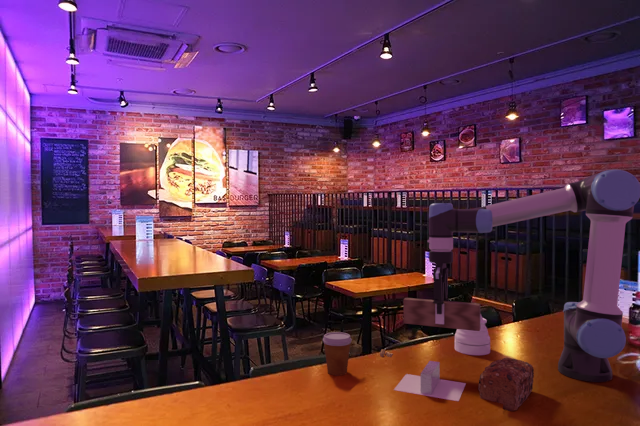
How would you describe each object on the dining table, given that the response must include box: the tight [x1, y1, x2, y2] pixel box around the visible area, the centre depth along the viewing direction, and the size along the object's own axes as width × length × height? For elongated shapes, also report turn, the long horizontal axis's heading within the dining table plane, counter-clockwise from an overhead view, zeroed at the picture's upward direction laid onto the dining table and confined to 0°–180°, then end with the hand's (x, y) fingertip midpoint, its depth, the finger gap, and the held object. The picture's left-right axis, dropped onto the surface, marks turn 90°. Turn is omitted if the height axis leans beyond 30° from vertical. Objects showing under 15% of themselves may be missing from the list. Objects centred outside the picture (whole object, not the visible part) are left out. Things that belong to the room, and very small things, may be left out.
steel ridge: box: [420, 360, 441, 395], centre depth 130 cm, size 3×12×6 cm, turn 154°
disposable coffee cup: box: [322, 331, 353, 376], centre depth 147 cm, size 10×10×12 cm
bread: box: [478, 357, 535, 412], centre depth 127 cm, size 19×11×10 cm, turn 141°
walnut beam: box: [403, 297, 481, 331], centre depth 145 cm, size 24×3×8 cm, turn 64°
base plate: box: [393, 373, 467, 402], centre depth 130 cm, size 18×14×2 cm
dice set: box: [379, 349, 394, 358], centre depth 164 cm, size 5×5×2 cm
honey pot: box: [454, 313, 491, 356], centre depth 170 cm, size 13×13×18 cm
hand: (440, 322), depth 145 cm, fingers closed on walnut beam, 3 cm apart
